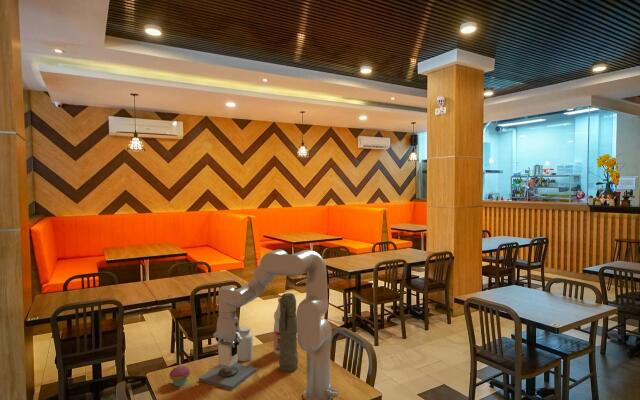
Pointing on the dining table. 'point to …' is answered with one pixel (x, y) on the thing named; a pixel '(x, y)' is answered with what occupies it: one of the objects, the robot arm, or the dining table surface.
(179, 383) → the cupcake
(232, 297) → the robot arm
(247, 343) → the pill bottle
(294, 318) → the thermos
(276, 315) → the fruit juice
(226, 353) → the white rectangular block
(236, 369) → the post base
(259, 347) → the dining table surface
